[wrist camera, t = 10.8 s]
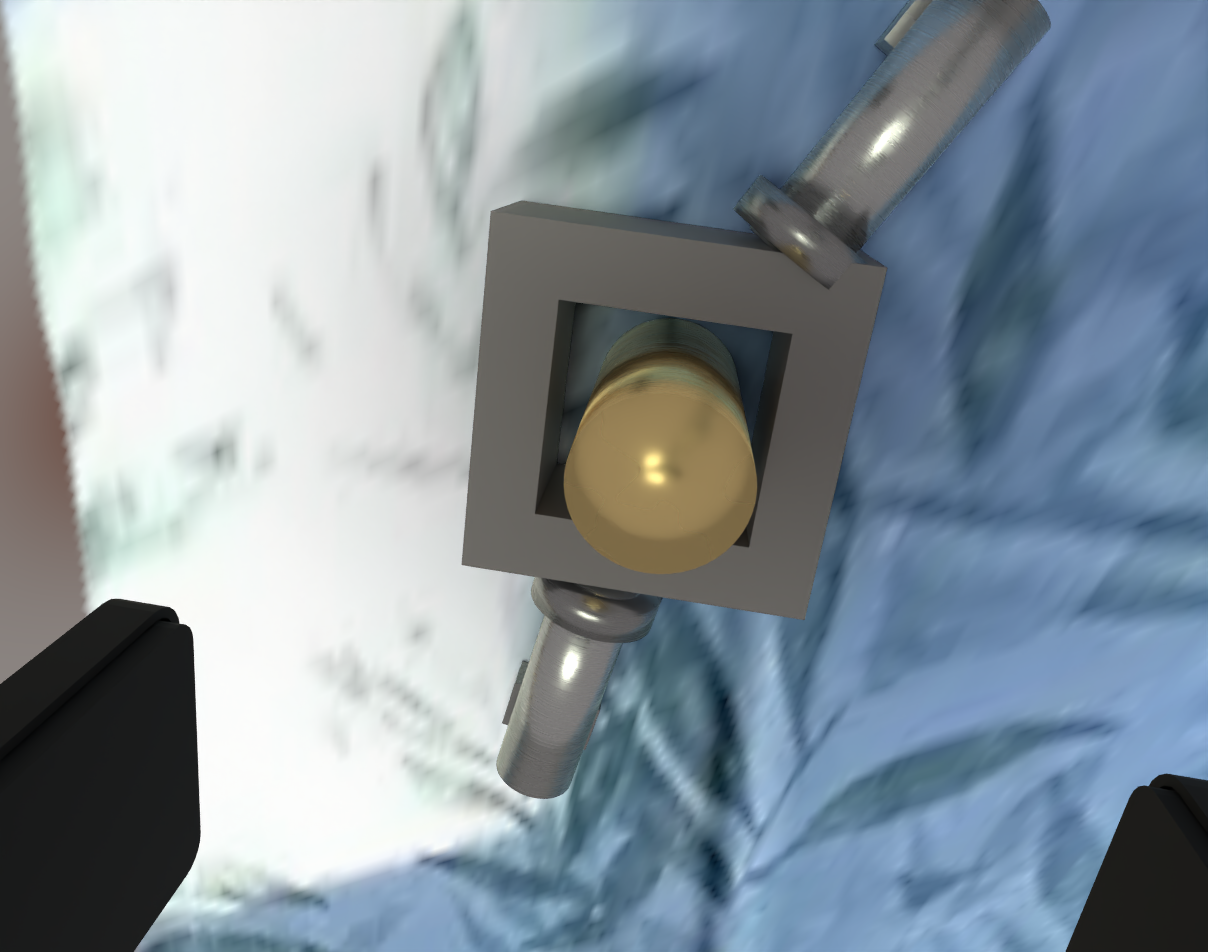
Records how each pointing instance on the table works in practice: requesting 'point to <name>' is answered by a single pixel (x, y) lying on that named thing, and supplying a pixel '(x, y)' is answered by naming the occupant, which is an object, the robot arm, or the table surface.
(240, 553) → the table surface
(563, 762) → the shaft
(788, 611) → the grey square frame
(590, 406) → the yellow cylinder
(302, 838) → the table surface
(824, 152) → the shaft
